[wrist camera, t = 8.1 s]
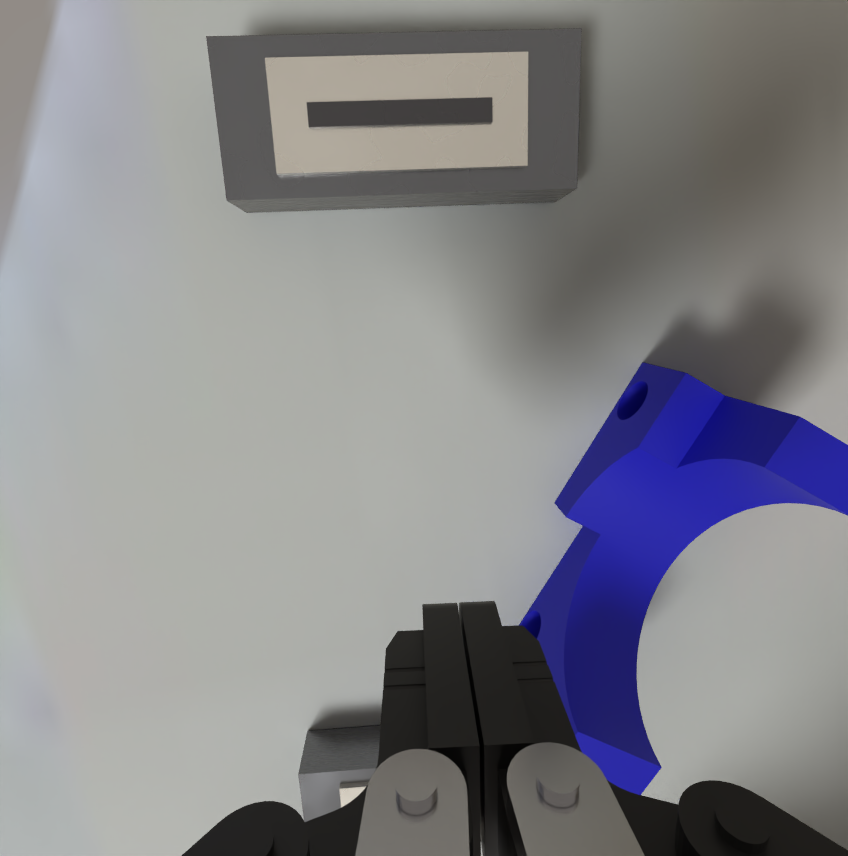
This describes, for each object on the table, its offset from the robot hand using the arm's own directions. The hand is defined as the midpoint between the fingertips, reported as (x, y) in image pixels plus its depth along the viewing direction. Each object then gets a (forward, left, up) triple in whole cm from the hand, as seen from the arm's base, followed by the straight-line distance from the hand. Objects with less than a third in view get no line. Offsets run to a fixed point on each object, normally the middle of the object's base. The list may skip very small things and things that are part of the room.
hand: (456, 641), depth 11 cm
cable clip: (-7, +2, -9) cm, 11 cm away
